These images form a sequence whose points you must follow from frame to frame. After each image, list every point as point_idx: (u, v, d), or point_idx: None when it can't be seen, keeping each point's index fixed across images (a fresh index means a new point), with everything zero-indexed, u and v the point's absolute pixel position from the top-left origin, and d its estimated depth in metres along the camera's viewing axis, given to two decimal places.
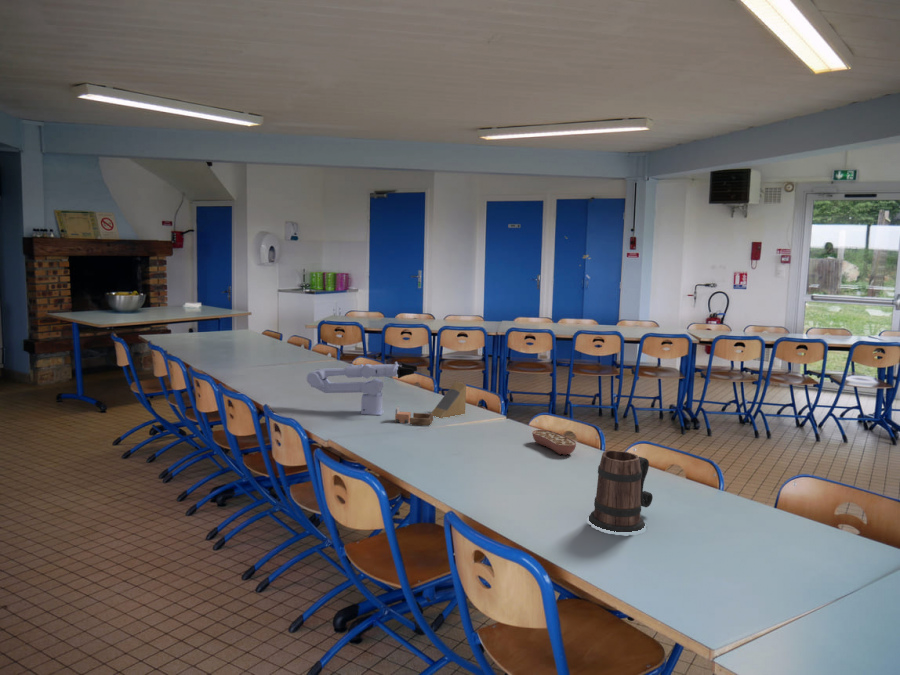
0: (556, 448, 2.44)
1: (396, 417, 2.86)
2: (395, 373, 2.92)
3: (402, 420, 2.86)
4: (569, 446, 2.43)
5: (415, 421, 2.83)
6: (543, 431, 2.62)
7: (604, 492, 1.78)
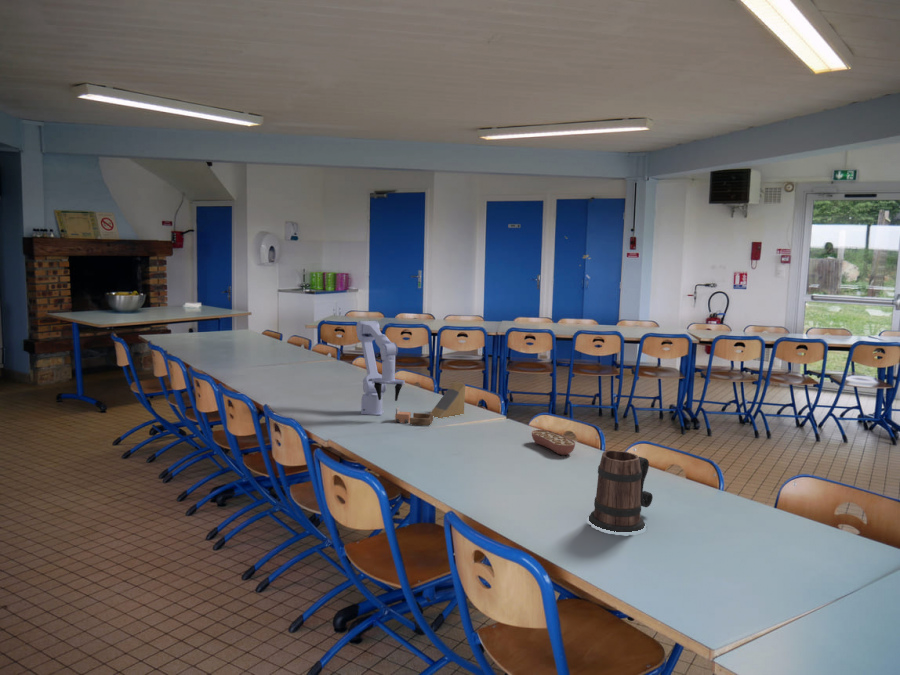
0: (555, 448, 2.44)
1: (396, 417, 2.86)
2: None
3: (402, 420, 2.86)
4: (568, 446, 2.42)
5: (415, 421, 2.83)
6: (542, 431, 2.62)
7: (604, 492, 1.78)
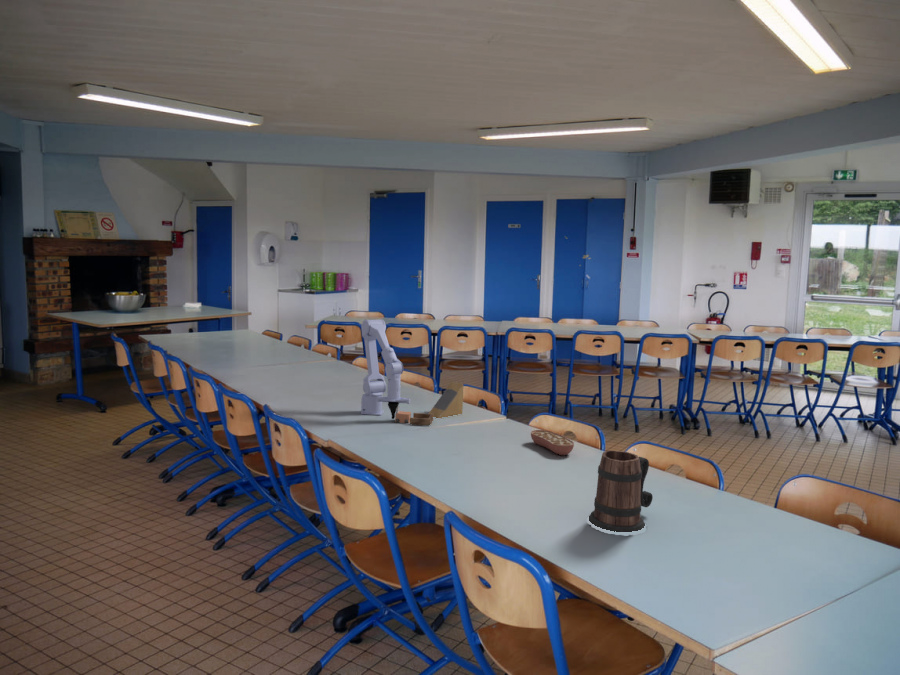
0: (554, 448, 2.44)
1: (396, 417, 2.86)
2: None
3: (402, 420, 2.86)
4: (567, 446, 2.42)
5: (415, 421, 2.83)
6: (541, 431, 2.62)
7: (604, 492, 1.78)
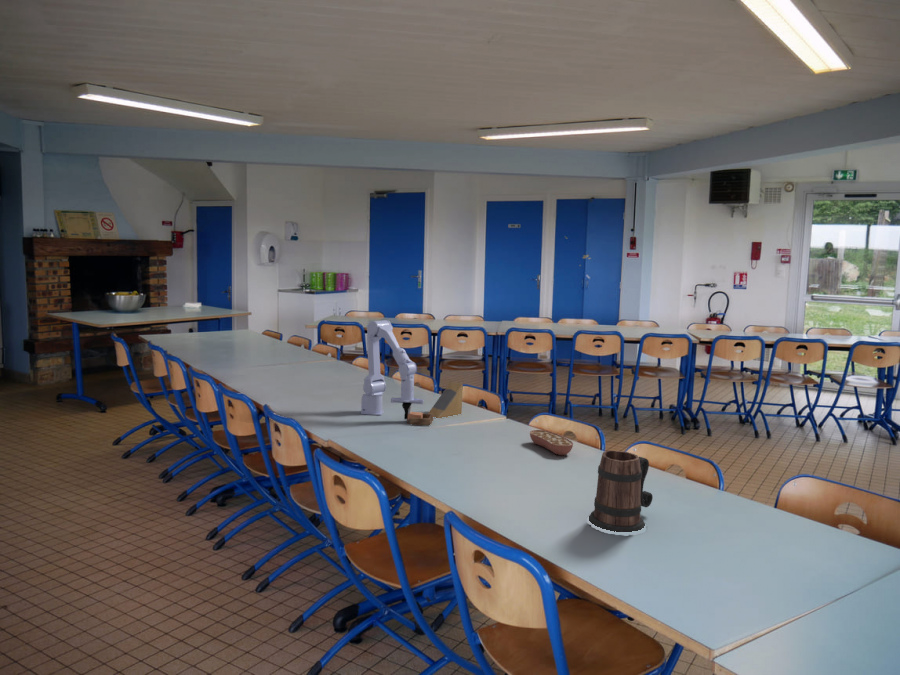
0: (553, 448, 2.44)
1: (408, 417, 2.86)
2: None
3: None
4: (566, 446, 2.42)
5: (415, 421, 2.83)
6: (541, 431, 2.61)
7: (604, 492, 1.78)
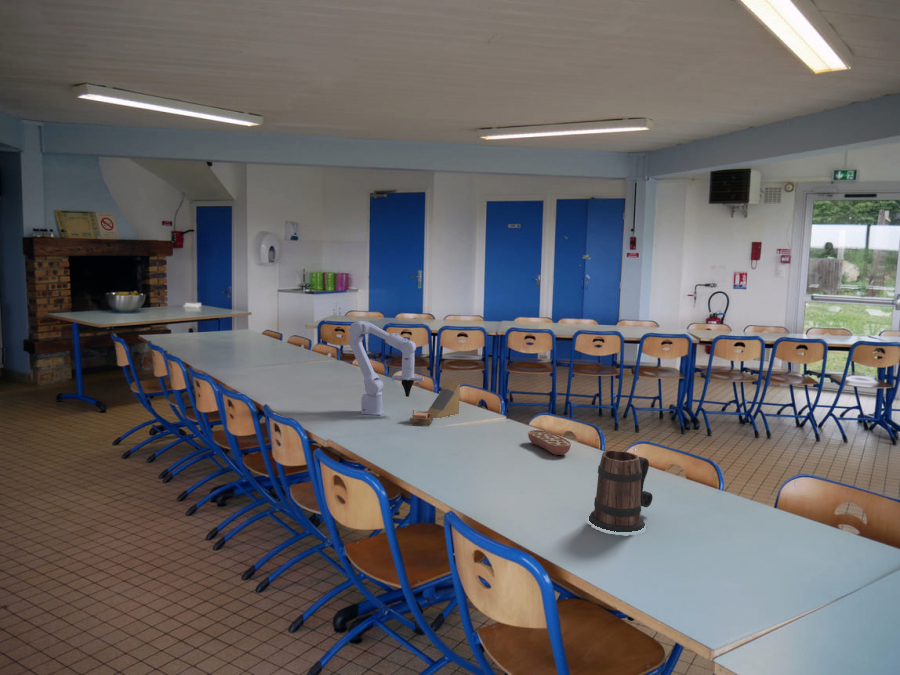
0: (550, 449, 2.43)
1: None
2: None
3: None
4: (563, 447, 2.42)
5: (415, 421, 2.83)
6: (539, 431, 2.61)
7: (604, 492, 1.78)
